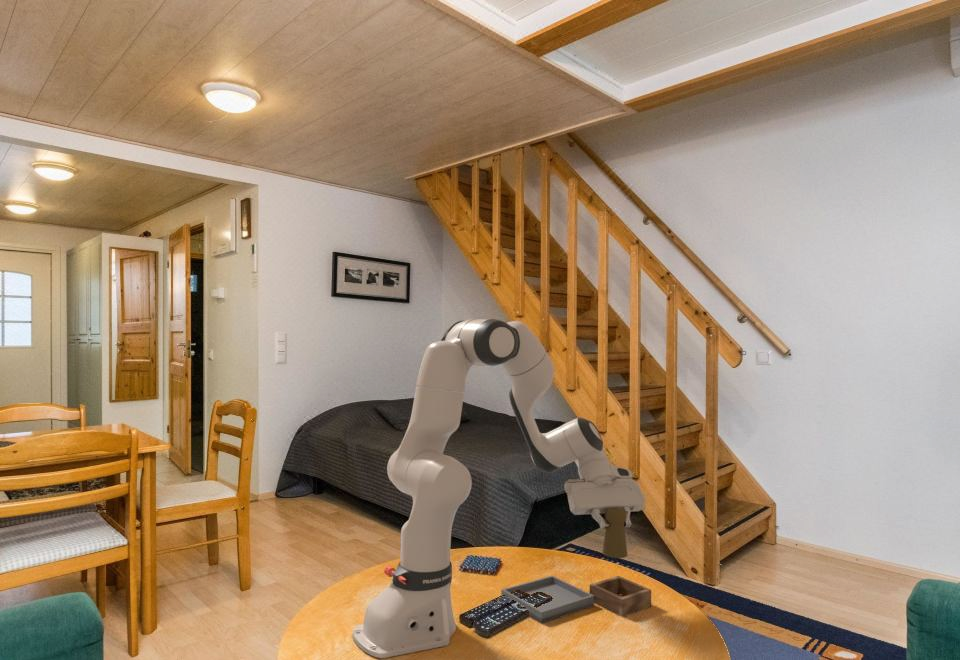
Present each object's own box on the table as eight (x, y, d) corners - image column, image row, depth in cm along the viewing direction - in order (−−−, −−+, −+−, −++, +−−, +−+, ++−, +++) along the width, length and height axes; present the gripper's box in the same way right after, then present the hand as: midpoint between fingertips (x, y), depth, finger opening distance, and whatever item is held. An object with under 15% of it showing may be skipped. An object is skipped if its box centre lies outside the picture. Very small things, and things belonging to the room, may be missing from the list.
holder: (622, 617, 137) (622, 599, 137) (589, 600, 146) (589, 584, 146) (651, 606, 143) (651, 589, 143) (618, 591, 152) (618, 575, 152)
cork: (630, 558, 141) (630, 512, 142) (604, 557, 142) (605, 511, 142) (624, 550, 147) (625, 506, 148) (600, 549, 148) (601, 505, 148)
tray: (541, 623, 133) (541, 612, 133) (501, 599, 145) (501, 589, 145) (593, 605, 143) (594, 595, 143) (552, 585, 155) (552, 575, 155)
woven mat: (495, 577, 160) (495, 570, 160) (458, 573, 163) (458, 566, 163) (503, 564, 170) (503, 557, 171) (467, 560, 173) (468, 553, 173)
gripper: (565, 472, 149) (582, 522, 139) (636, 470, 155) (657, 518, 145) (558, 486, 153) (574, 536, 143) (627, 483, 159) (646, 530, 149)
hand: (616, 527), depth 144 cm, fingers closed on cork, 5 cm apart
